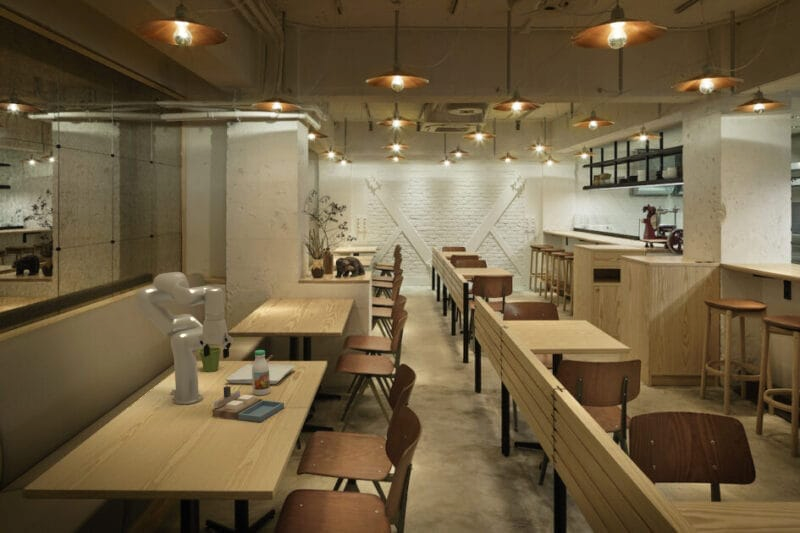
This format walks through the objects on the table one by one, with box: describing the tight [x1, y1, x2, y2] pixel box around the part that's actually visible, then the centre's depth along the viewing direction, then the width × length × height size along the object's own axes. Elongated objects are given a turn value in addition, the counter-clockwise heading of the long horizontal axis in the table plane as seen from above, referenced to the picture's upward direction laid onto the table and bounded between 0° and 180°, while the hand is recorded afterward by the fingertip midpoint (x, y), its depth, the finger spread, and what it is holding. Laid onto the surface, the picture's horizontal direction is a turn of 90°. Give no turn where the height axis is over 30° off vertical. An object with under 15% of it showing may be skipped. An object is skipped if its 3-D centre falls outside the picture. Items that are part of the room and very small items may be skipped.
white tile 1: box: [226, 400, 244, 410], centre depth 247 cm, size 5×5×2 cm
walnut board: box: [211, 397, 263, 421], centre depth 252 cm, size 12×18×3 cm, turn 160°
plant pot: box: [197, 346, 223, 373], centre depth 316 cm, size 12×12×11 cm
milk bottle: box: [251, 349, 271, 396], centre depth 275 cm, size 8×8×20 cm
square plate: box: [224, 363, 296, 385], centre depth 301 cm, size 27×27×4 cm
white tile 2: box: [238, 394, 255, 404], centre depth 255 cm, size 5×5×2 cm
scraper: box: [213, 385, 241, 409], centre depth 253 cm, size 2×16×7 cm, turn 160°
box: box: [237, 399, 285, 423], centre depth 248 cm, size 11×18×2 cm, turn 160°
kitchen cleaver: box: [265, 354, 275, 363], centre depth 332 cm, size 24×1×10 cm
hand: (216, 356), depth 253 cm, fingers open, 9 cm apart
